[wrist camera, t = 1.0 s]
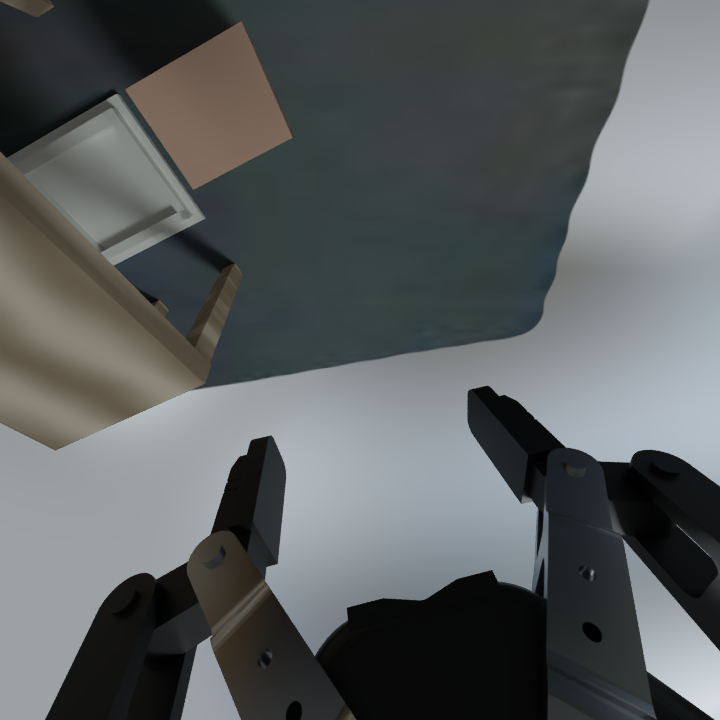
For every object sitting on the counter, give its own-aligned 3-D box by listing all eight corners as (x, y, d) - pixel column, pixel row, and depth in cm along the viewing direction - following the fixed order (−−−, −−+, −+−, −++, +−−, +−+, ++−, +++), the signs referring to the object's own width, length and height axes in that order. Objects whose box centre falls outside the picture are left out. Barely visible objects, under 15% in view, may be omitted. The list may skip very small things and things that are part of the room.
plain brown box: (262, 64, 24) (241, 21, 15) (293, 135, 27) (292, 137, 18) (189, 105, 25) (124, 89, 15) (227, 170, 28) (193, 189, 19)
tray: (119, 94, 24) (110, 92, 23) (205, 217, 30) (201, 221, 29) (1, 163, 25) (-13, 164, 24) (107, 267, 31) (100, 273, 30)
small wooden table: (34, -28, 20) (-760, -513, 5) (244, 273, 34) (204, 383, 19) (-101, 61, 21) (-1061, -110, 6) (156, 316, 35) (55, 450, 20)
